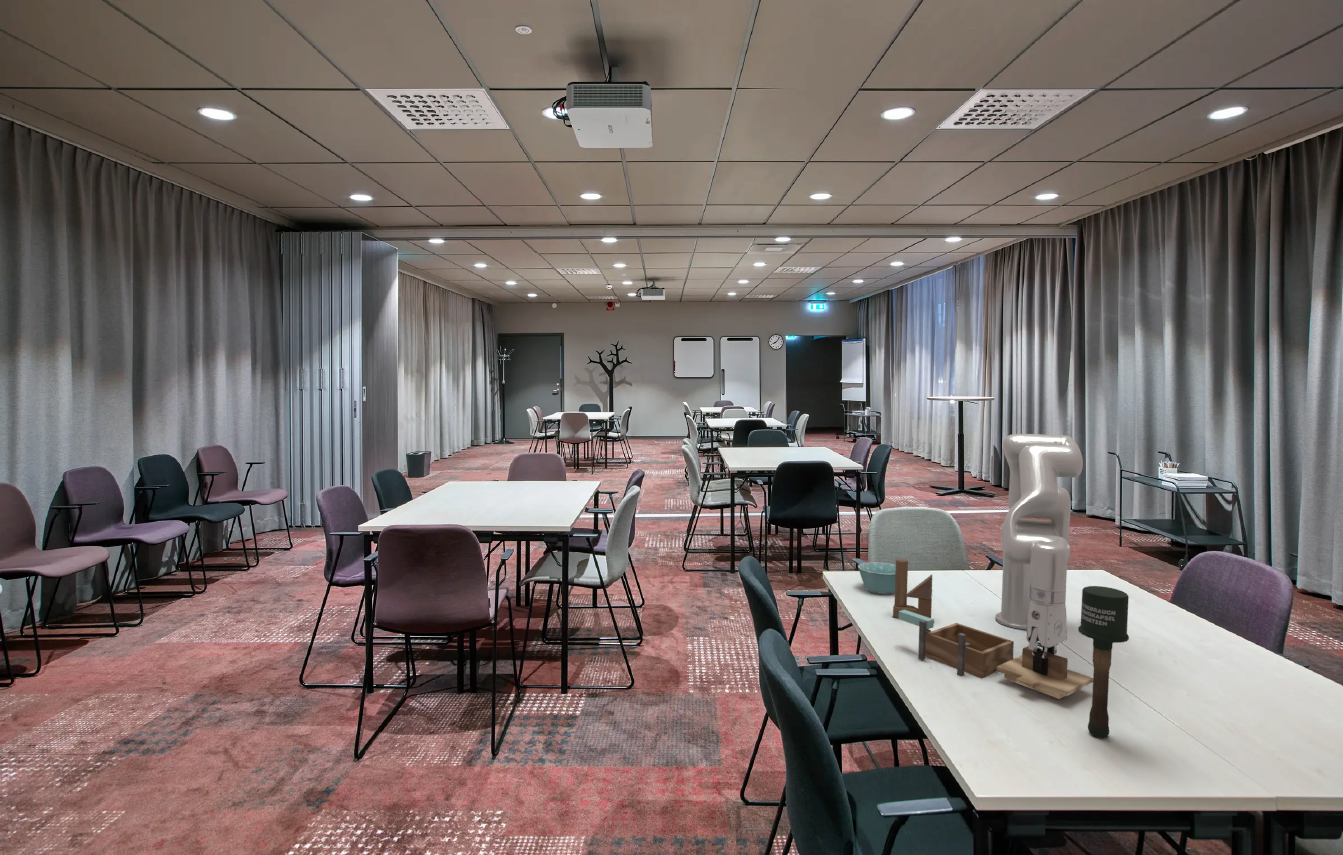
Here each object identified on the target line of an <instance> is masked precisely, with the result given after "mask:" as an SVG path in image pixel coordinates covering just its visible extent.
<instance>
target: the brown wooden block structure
mask: <svg viewBox="0 0 1343 855" xmlns="http://www.w3.org/2000/svg"><path fill="white" fill-rule="evenodd" d="M895 565H896V566H895V593H894V604H893V607H892V618H895V619H899V611H901V610H907V611H910V612H913V613H916V614H919V615H922V616H925V617H928V618H931V619H932V604H933V603H932V602H933V600H932V597H933V574H930V575H929V576H928V577H926V578H925V579H923V581H921V582H920V583H918V584H917V585H916V586H915V587H913V588H911V590H909V591H908V577H909V576H908V575H909V574H908V573H909V572H908V571H909V567H908V566H909V560H908V559H905V558H900V557H899V558H895ZM908 598H914V599H917V600H918V601H917V607H916V606H914V605H912V604H911V605H909V604H908Z"/></svg>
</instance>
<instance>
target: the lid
mask: <svg viewBox="0 0 1343 855" xmlns="http://www.w3.org/2000/svg"><path fill="white" fill-rule="evenodd" d="M1028 647H1029V645H1028V646H1026V647H1023V648H1022V654H1021V655H1020V656H1016V657H1015V658H1013V660H1010V661H1008V662H1006V663H1003V664H1001V665H999V666H997V672H1000V673H1003V677H1004V678H1003V679H1006V680H1008V681H1011V682H1013V683H1016V684H1018V685H1021V686H1023V687H1026V688H1029V689H1032V690H1034V691H1037V692H1040V693H1043V694H1045V695H1048V696H1050V697H1053V698H1056V699H1062V698H1063V697H1069V696H1070V695H1072V694H1074V693H1076V692H1078V691H1079V690H1081V689H1082V688H1084V687H1087V686H1089V685H1090V684H1093V677H1091V676H1088V675H1086V674H1083V673H1079V672H1076V671H1075V670H1074V671H1073V670H1072V669H1068V662H1069V659H1068V658H1067V657H1064V656H1061V655H1058V654H1052V653H1049V652H1047V657H1046V658H1048V674H1047V675H1043V674H1040V673H1037V672H1034V671H1033V655H1032V651H1031V650H1030V649H1028Z"/></svg>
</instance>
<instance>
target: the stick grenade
mask: <svg viewBox="0 0 1343 855" xmlns="http://www.w3.org/2000/svg"><path fill="white" fill-rule="evenodd" d="M1081 591H1082V592H1081V606H1080V607H1081V608H1080V609H1081V610H1080V625H1079V626H1078V628H1077V629H1078V632H1079V633H1080V634H1081V635H1082V636H1085V637H1087V638H1089V639H1092V666H1093V671H1092V672H1093V674H1092V676H1093V677H1092V678H1093V682H1092V695H1091V697H1092V698H1091V707H1090V710H1089V715H1088V716H1089V718H1088V719H1089V720H1088V724H1087V730H1088V733H1089V734H1090V735H1091V736H1093V737H1094V738H1097V739H1106V738H1108V736H1109V735H1110V727H1109V723H1110V722H1109V720H1110V717H1109V712H1108V704H1109V703H1108V702H1109V683H1110V680H1109V679H1110V671H1111V670H1110V669H1111V666H1112V654H1113V653H1112V652H1113V644H1115V643H1116V644H1117V643H1125V642H1128V641H1129V640H1130V636H1129V634H1128V617H1129V598H1130V597H1129V595H1128V593H1127V592H1125V591H1122V590H1120V589H1117V588H1114V587H1113V588H1112V587H1107V586H1101V585H1100V586H1099V585H1087V586H1084V587H1083V588H1082V590H1081Z"/></svg>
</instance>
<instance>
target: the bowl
mask: <svg viewBox="0 0 1343 855" xmlns="http://www.w3.org/2000/svg"><path fill="white" fill-rule="evenodd" d="M895 566H896V564H893V563H889V562H888V563H887V562H878V561H877V562H875V561H873V562H864V563H859V564H858V565H857V567H858V568H857V569H858V571H859V575H860V578H861V580H862V583H863V586H864V588H865V589H866V590H867V591H869V592H870V593H872V594H875V595H876V594H877V595H882V596H883V595H884V596H885V595H893V594H895Z"/></svg>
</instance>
